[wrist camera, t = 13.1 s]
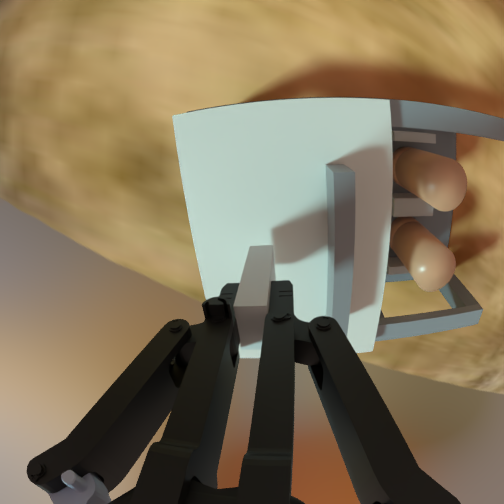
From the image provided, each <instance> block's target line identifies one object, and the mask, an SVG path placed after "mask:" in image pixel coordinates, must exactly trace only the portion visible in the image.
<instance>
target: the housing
mask: <svg viewBox="0 0 504 504" xmlns="http://www.w3.org/2000/svg"><path fill="white" fill-rule="evenodd" d="M310 98H362V97H310ZM289 99H305V98H289ZM367 99H381V98H367ZM275 100H286V99H275ZM384 100H390V112H391V127H392V152H393V153H394V151H396V150H397V149H398V148H401V147H412V148H416V149H419V150H423V151H427V152H431V153H434V154H438V155H441V156H444V157H448V158H451V159H454V160H456V133H462V134H468V135H474V136H480V137H485V138H491V139H496V140H500V141H504V119H503V118H499V117H495V116H491V115H487V114H483V113H479V112H475V111H470V110H465V109H460V108H455V107H449V106H443V105H437V104H430V103H423V102H415V101H405V100H395V99H384ZM264 101H273V100H264ZM254 102H262V101H254ZM246 103H253V102H246ZM238 104H244V103H238ZM230 105H236V104H230ZM223 106H229V105H223ZM217 107H222V106H217ZM211 108H216V107H211ZM205 109H210V108H205ZM199 110H204V109H199ZM194 111H198V110H194ZM189 112H193V111H189ZM187 113H188V112H187ZM452 213H453V210H451V211H439V210H437V209H435V208H434V207H432V206H431V205H430V204H428V203H427V202H425V201H423V200H422V199H420V198H419V197H417V196H416V195H414V194H413V193H411V192H409V191H408V190H406V189H405V188H403V187H401V186H400V185H398V184H397V183H395V182H394V180H393V189H392V215H391V223H392V222H393V221H394V220H395V219H396V218H398V217H409V216H411V217H413V218H415V219H416V220H417V221H418V222H419V223H421V224H422V225H423V226H424V227H425V228H426V229H427V230H429V231H430V232H431V233H432V234H433V235H434V236H435V237H436V238H437V239H438V240H440V241H441V242H442V243H443V244H444V245H445V246H446V247H447V248H448V242H449V236H450V229H451V222H452ZM405 280H414V279H413V277H412V276H411V274H410V273H409V271H408V270H407V269H406V267H405V266H404V264H403V263H402V262H401V260H400V259H399V258H398V256H397V255H396V253H395V252H394V251H393V249H392V248H391V247H390V245H389V253H388V262H387V271H386V279H385V282H394V281H405ZM439 291H440V292H441V293H442V295H443V296H444V297H445V299H446V300H447V302H448V303H449V304H450V306H451V307H452V309H447V310H441V311H434V312H427V313H420V314H413V315H405V316H396V317H388V318H384V315H383V313H382V311H380V317H379V323H378V328H377V333H376V338H375V341H381V340H389V339H397V338H404V337H411V336H417V335H423V334H429V333H435V332H441V331H446V330H451V329H456V328H461V327H466V326H470V325H475V324H478V322H479V319H480V316H481V314H482V311H483V308H482V307H481V306H480V304H479V303H478V302H477V301H476V299H475V298H474V297H473V296H472V295H471V293H470V292H469V291H468V290H467V289H466V287H465V286H464V285H463V284H462V283H461V282H460V280H459V279H458V278H457V277H456V276H455V275H454V274H453V276H452V278H451V279H450V281H449V282H448V283H447V284H446V285H445V286H444V287H442V288H441V289H439Z"/></svg>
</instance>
